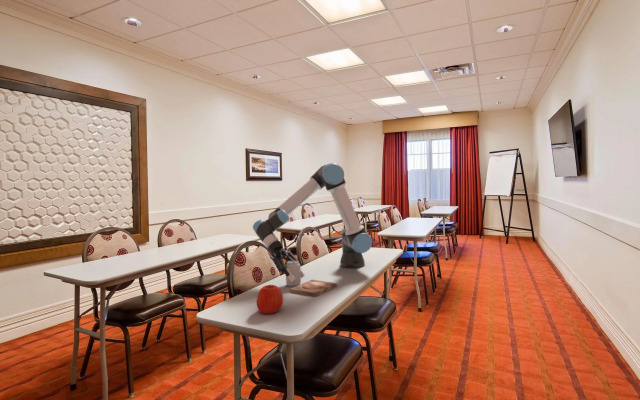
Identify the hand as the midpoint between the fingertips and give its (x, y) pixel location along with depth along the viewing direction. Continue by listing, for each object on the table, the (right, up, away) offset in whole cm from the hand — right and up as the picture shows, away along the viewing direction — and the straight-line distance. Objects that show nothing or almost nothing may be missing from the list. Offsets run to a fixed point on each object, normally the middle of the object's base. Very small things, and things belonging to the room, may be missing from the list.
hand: (298, 278), depth 172 cm
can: (-3, -4, +2) cm, 5 cm away
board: (+8, -4, -6) cm, 11 cm away
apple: (-9, -6, -33) cm, 35 cm away
